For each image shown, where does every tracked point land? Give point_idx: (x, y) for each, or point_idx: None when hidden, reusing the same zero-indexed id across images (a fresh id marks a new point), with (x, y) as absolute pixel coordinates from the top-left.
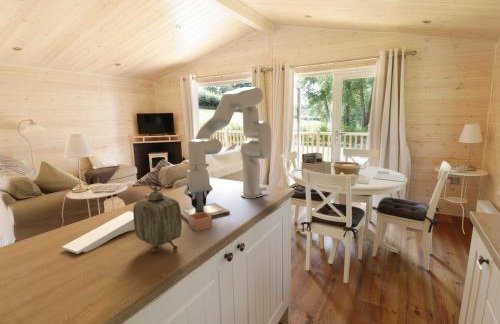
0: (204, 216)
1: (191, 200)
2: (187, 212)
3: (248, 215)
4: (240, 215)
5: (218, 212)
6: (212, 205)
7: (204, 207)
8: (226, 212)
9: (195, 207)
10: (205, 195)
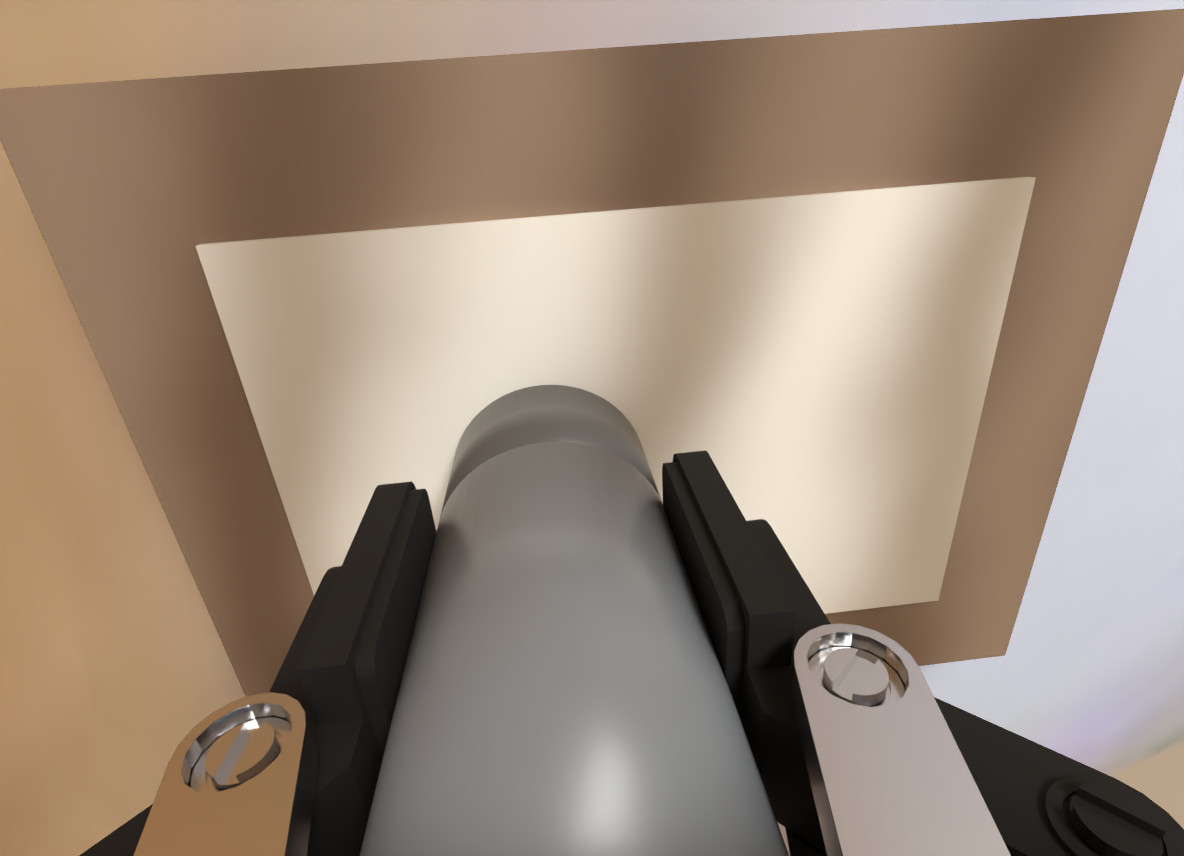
0: None
1: (284, 671)
2: (277, 433)
3: (1108, 732)
4: (1039, 701)
5: None
6: (980, 237)
7: (746, 288)
8: (938, 654)
9: None
10: (824, 844)
